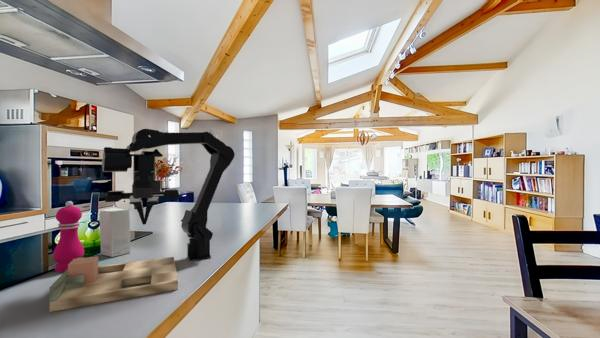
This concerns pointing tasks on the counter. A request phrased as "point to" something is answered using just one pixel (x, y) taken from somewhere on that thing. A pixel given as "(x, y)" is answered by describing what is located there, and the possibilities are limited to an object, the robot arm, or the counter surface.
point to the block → (84, 268)
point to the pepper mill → (68, 237)
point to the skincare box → (115, 232)
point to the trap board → (114, 283)
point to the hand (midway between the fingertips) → (144, 224)
